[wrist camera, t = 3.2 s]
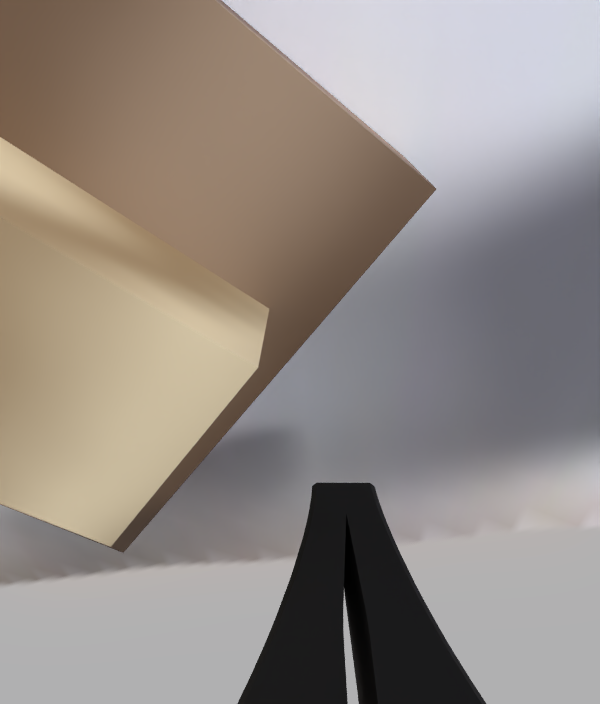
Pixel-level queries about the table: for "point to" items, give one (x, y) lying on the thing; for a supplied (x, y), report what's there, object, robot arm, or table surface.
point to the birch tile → (104, 353)
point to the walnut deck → (207, 160)
